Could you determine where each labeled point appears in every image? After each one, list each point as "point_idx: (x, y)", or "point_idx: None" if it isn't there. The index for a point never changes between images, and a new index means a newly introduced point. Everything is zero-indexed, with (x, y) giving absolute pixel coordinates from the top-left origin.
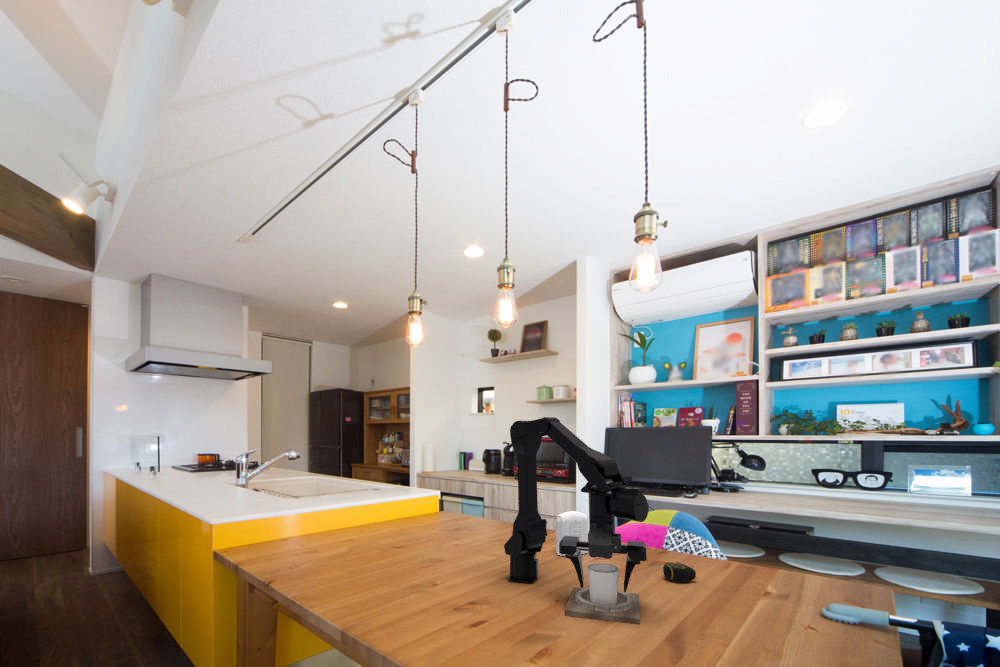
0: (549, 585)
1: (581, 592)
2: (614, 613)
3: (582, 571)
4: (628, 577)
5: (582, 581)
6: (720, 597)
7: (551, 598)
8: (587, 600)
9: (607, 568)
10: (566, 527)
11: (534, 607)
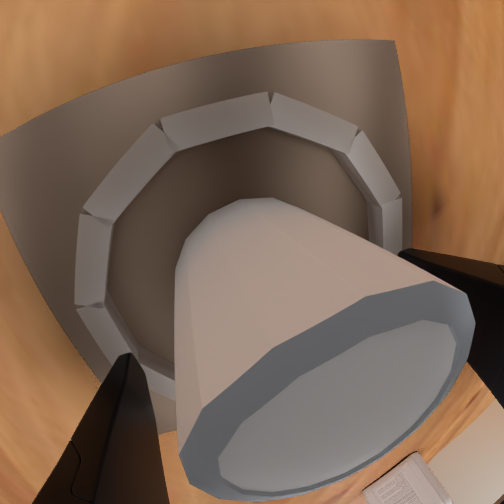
0: None
1: None
2: (125, 125)
3: None
4: (79, 437)
5: (427, 260)
6: (11, 486)
7: (451, 214)
8: None
9: (308, 448)
10: (429, 501)
11: (475, 95)
